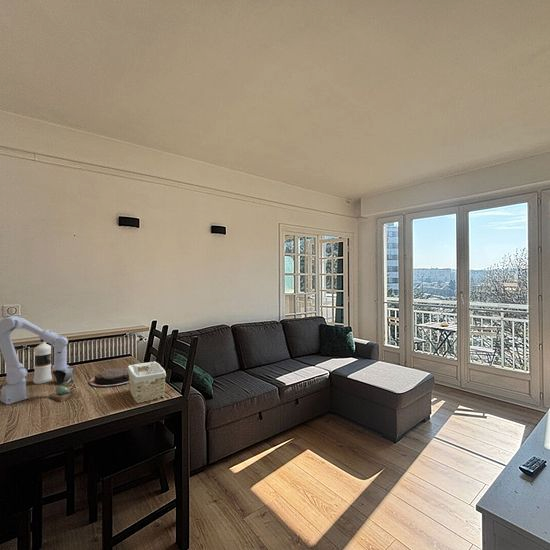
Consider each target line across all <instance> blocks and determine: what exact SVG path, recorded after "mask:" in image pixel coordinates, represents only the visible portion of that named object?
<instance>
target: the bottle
mask: <svg viewBox="0 0 550 550" xmlns="http://www.w3.org/2000/svg"><path fill="white" fill-rule="evenodd" d="M69 389H70V387H66V386H63V385H58V386H57V387H56V388H55V391H54V392H55V394H57V395H60V396H63V395H66V394H69V393H71V391H70V390H69Z"/></svg>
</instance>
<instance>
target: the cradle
mask: <svg viewBox="0 0 550 550" xmlns="http://www.w3.org/2000/svg"><path fill="white" fill-rule="evenodd" d="M69 390H70V391H71V393H69V394H66V395H63V396H61V395H59V394H56V393H50V394H49V398H51V399H54V400H56V401H59V402H60V403H62V402H65V401H69V400H72V399H75V398H78V397H81V396H82V391H81V390H74V389H71V388H69Z"/></svg>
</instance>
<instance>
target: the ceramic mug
mask: <svg viewBox="0 0 550 550" xmlns="http://www.w3.org/2000/svg"><path fill="white" fill-rule="evenodd" d="M68 368H69V367H68ZM74 379H75V371H74V368H73V367H70V368H69V372H68V373H67V374H66V376H65V378H64V382H63V384H60V386H63V385H67V384H69V383H70V382H73V381H74Z"/></svg>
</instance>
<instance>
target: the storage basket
mask: <svg viewBox="0 0 550 550" xmlns="http://www.w3.org/2000/svg"><path fill="white" fill-rule="evenodd" d="M127 368H128V374H129V383H128V385H129V391H130V394H131V396H132V398H133V399H134V401H135V402H136V404H137V403H138V404H140V402H141V403H145V402H144V401H146V402H149V401H148V400H151V401H153V400H152V399H155V398H159V397H162V396H164V397H165V391H166V390H165V389H166V377H167V373H166V370H165V369H164V367H162V366H161V364H160V363H158V362H157V361H149V362H142V363H135V364H129V365H128V366H127ZM145 368H147V369H148V370H143V371H139V369H145Z"/></svg>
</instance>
